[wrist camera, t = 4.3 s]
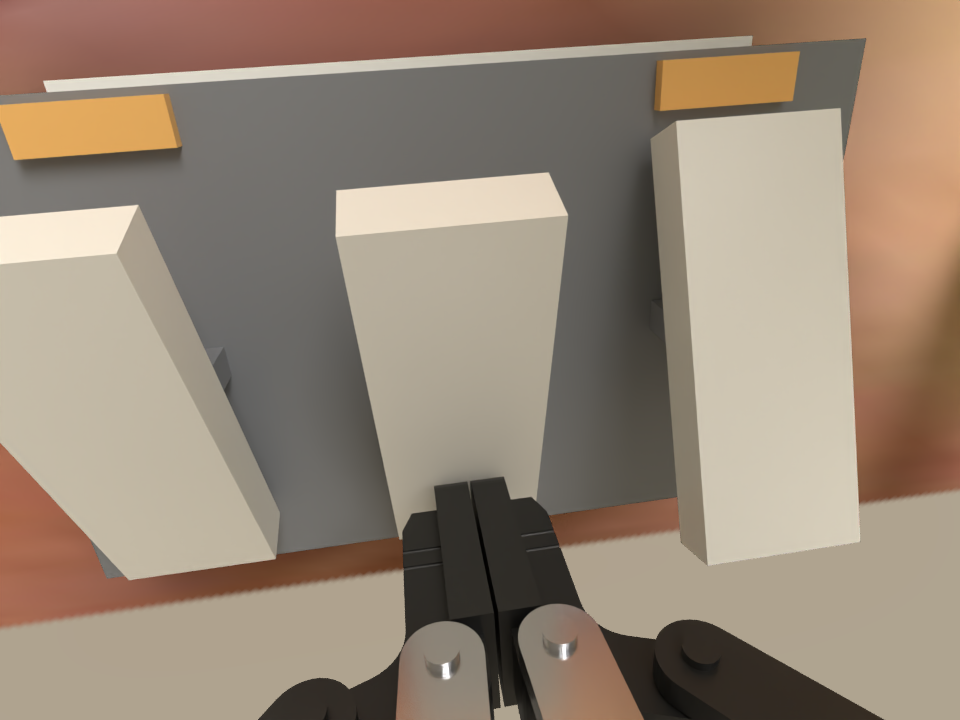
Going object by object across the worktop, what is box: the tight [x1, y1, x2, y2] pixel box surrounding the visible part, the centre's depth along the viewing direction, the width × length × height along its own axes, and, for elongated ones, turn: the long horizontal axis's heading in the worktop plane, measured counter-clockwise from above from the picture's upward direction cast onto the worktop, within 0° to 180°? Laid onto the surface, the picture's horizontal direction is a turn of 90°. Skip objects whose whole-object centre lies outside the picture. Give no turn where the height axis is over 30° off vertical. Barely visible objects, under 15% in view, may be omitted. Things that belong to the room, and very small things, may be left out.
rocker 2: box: [336, 172, 568, 540], centre depth 12 cm, size 3×8×1 cm, turn 4°
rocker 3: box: [650, 108, 860, 566], centre depth 12 cm, size 3×8×1 cm, turn 4°
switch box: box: [0, 36, 866, 578], centre depth 15 cm, size 18×11×5 cm, turn 94°
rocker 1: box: [0, 205, 280, 580], centre depth 11 cm, size 3×8×1 cm, turn 4°
